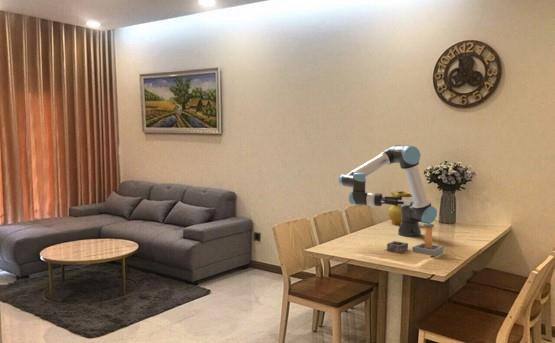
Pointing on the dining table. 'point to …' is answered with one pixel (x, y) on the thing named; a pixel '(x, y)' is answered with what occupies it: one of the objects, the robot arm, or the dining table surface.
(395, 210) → the pitcher
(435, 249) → the tray
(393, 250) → the grey square socket
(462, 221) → the dining table surface
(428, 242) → the lock pin
